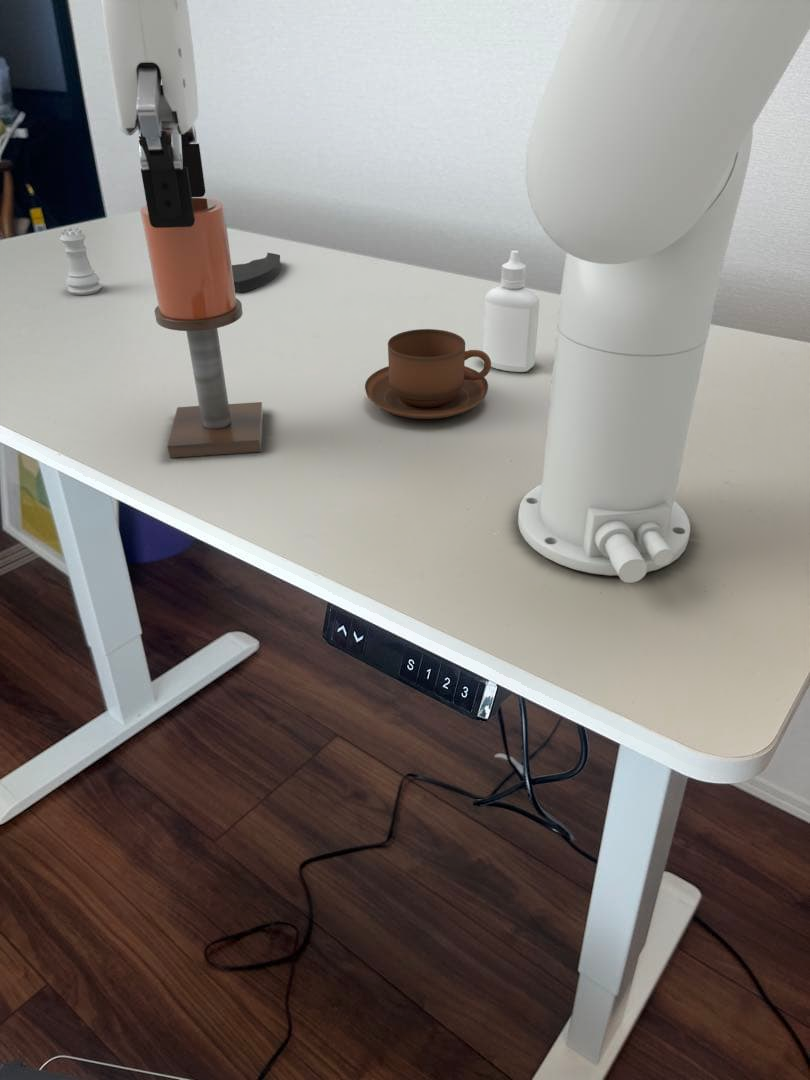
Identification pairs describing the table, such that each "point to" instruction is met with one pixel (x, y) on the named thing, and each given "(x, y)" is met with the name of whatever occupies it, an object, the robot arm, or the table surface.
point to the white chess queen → (79, 264)
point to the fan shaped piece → (255, 272)
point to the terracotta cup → (192, 264)
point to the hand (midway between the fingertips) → (180, 210)
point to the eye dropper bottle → (511, 320)
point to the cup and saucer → (428, 376)
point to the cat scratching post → (211, 397)
